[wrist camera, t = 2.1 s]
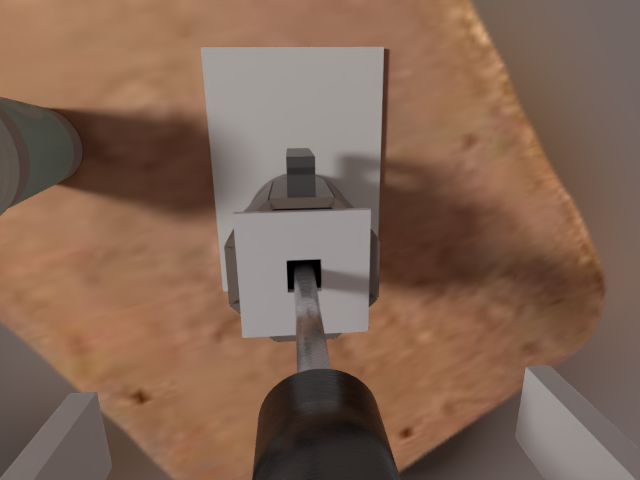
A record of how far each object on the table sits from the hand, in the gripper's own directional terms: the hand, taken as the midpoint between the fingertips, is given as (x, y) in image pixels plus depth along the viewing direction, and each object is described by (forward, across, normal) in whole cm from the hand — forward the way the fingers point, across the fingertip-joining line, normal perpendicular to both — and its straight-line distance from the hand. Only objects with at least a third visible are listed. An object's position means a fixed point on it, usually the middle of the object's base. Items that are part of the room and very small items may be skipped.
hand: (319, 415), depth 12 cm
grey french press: (+23, 0, +1) cm, 23 cm away
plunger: (+12, 0, 0) cm, 12 cm away
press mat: (+24, 0, +4) cm, 24 cm away
